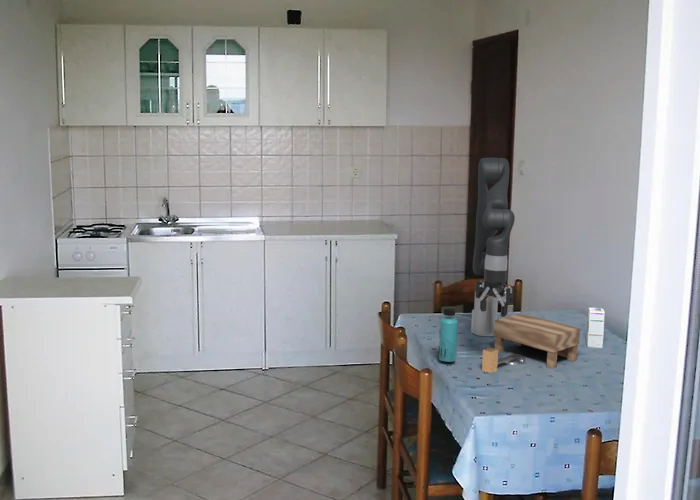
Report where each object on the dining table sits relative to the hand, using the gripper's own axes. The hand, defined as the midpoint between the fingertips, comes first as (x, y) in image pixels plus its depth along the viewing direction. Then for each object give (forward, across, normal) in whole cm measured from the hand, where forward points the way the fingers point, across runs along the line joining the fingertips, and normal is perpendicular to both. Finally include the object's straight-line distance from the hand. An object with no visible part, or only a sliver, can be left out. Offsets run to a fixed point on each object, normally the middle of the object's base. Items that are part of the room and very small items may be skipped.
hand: (493, 313), depth 267 cm
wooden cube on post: (+20, 0, +6) cm, 21 cm away
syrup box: (+21, +7, +55) cm, 59 cm away
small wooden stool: (+20, 0, +26) cm, 33 cm away
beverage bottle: (+20, -14, -6) cm, 26 cm away
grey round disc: (+21, 0, +12) cm, 24 cm away
